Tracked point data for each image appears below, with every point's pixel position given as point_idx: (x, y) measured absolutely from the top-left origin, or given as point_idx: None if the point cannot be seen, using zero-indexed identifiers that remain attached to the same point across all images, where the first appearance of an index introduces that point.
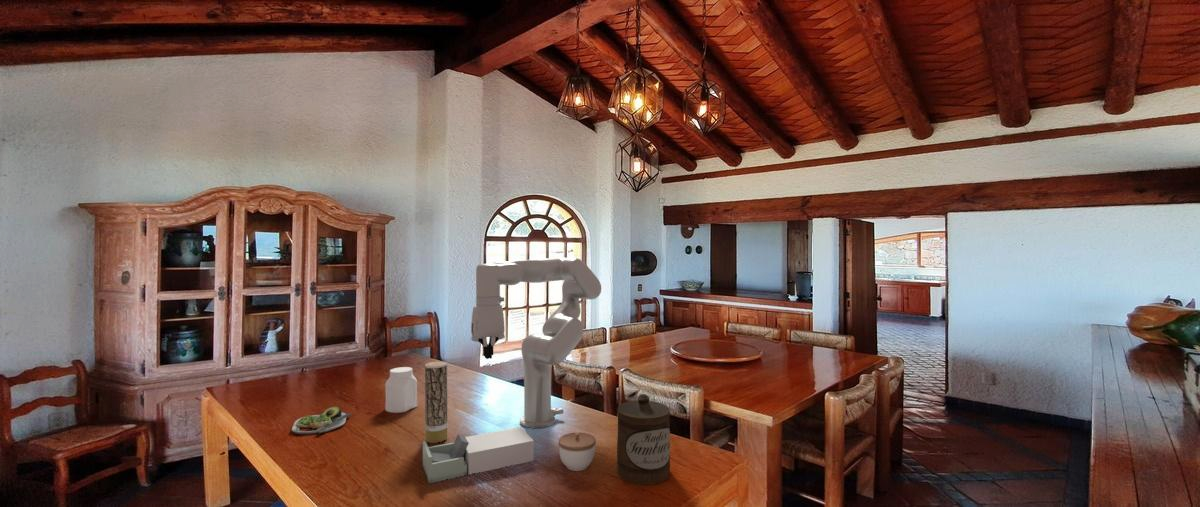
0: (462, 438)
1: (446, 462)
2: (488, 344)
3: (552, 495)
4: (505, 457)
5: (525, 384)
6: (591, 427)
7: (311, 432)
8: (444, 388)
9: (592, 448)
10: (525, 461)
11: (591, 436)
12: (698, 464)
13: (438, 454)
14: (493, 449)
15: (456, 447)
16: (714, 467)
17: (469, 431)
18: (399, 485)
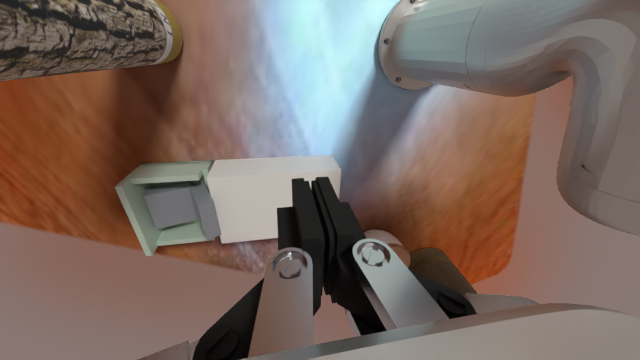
0: (208, 223)
1: (184, 242)
2: (338, 262)
3: None
4: None
5: (456, 41)
6: (473, 131)
7: None
8: (83, 63)
9: None
10: None
11: (406, 265)
12: (470, 268)
13: (166, 198)
14: (266, 237)
15: (199, 217)
16: (474, 276)
17: (247, 12)
18: (112, 217)
